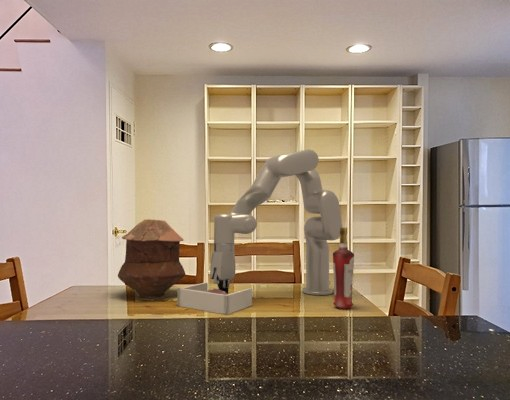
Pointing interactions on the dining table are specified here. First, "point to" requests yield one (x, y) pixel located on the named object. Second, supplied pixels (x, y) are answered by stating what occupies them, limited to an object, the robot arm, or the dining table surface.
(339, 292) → the red glass bottle
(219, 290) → the video game controller
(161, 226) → the pottery vessel
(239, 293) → the bin
